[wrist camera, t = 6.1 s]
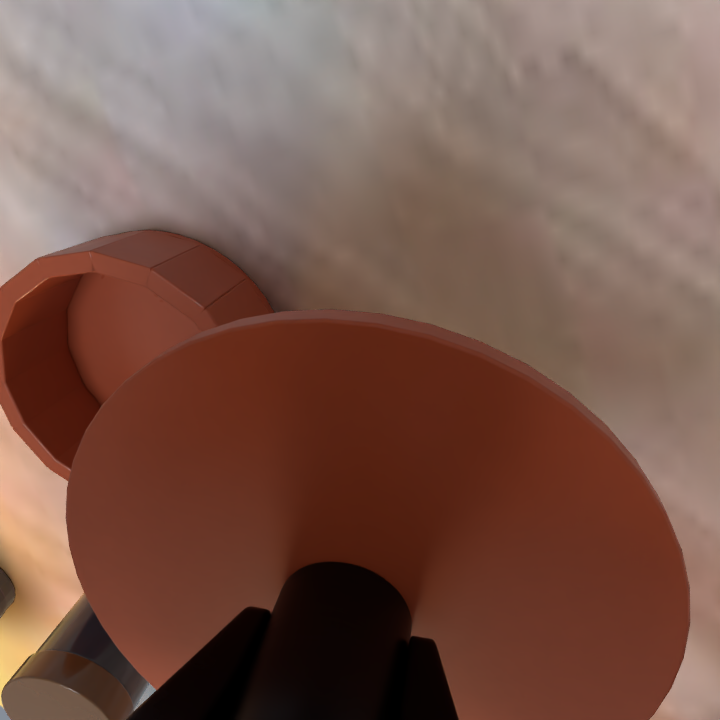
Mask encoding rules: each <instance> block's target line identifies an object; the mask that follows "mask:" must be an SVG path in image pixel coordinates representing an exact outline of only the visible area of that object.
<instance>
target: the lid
mask: <svg viewBox="0 0 720 720" xmlns="http://www.w3.org/2000/svg"><path fill="white" fill-rule="evenodd" d="M66 523H67V532H68V540H69V547H70V551H71V554H72V558H73V562H74V566H75V569H76V573H77V576H78V578H79V580H80V583H81V585H82V588H83V590H84V593H85V595H86V597H87V600H88V602H89V603H90V605H91V607H92V609H93V611H94V612H95V614H96V616H97V618H98V620H99V621H100V623H101V625H102V627H103V628H104V629H105V631H106V632H107V634H108V635H109V636H110V638H111V639H112V641H113V642H114V644H115V645H116V646H117V648H118V649H119V650H120V652H121V653H122V654H123V655H124V656H125V657H126V659H127V660H128V661H129V662H130V663H131V664H132V666H133V667H134V668H135V669H136V670H137V671H138V672H139V673H140V674H141V675H142V676H143V677H144V678H145V679H146V680H147V681H148V682H149V683H150V684H151V685H152V686H153V687H154V688H155V689H156V690H157V689H159V688H160V687H161V686H162V685H163V684H164V683H165V682H166V681H167V680H168V679H169V678H170V677H171V676H173V675H174V674H175V673H176V672H177V671H178V670H179V669H180V668H181V667H182V666H183V665H184V664H185V663H186V662H188V661H189V660H190V659H191V658H192V657H193V656H194V655H195V654H196V653H197V652H198V651H199V650H200V649H202V648H203V647H204V646H205V645H206V644H207V643H208V642H209V641H210V640H211V639H212V638H213V637H214V636H216V635H217V634H218V633H219V632H220V631H221V630H222V629H223V628H224V627H225V626H226V625H227V624H228V623H229V622H231V621H232V620H233V619H234V618H235V617H236V616H237V615H238V614H239V613H240V612H241V611H242V610H244V609H245V608H246V607H249V606H253V607H258V608H264V609H268V610H269V611H270V613H271V615H270V618H269V620H268V623H267V625H266V627H265V630H264V632H263V634H262V637H261V639H260V642H259V644H258V646H257V649H256V651H255V654H254V656H253V658H252V661H251V663H250V666H249V668H248V670H247V673H246V675H245V678H244V680H243V682H242V685H241V687H240V690H239V692H238V694H237V697H236V699H235V702H234V704H233V706H232V709H231V711H230V714H229V716H228V718H227V720H399V714H400V704H401V695H402V688H403V681H404V674H405V667H406V660H407V652H408V645H409V640H410V638H411V637H412V636H419V637H424V638H430V639H433V640H434V641H435V643H436V645H437V648H438V652H439V655H440V658H441V662H442V665H443V668H444V672H445V675H446V678H447V682H448V685H449V688H450V692H451V695H452V698H453V702H454V705H455V708H456V712H457V715H458V718H459V720H649V719H650V718H651V717H652V716H653V715H654V713H655V712H656V710H657V709H658V707H659V706H660V704H661V703H662V701H663V700H664V698H665V697H666V695H667V694H668V692H669V690H670V689H671V687H672V685H673V682H674V680H675V678H676V675H677V673H678V670H679V668H680V665H681V663H682V660H683V658H684V653H685V648H686V642H687V637H688V632H689V627H690V587H689V582H688V577H687V572H686V567H685V563H684V558H683V553H682V549H681V547H680V544H679V542H678V540H677V537H676V535H675V532H674V530H673V527H672V525H671V522H670V520H669V518H668V515H667V513H666V511H665V509H664V506H663V504H662V502H661V500H660V498H659V496H658V495H657V493H656V491H655V490H654V488H653V486H652V485H651V483H650V482H649V480H648V478H647V477H646V475H645V474H644V472H643V470H642V469H641V467H640V466H639V464H638V462H637V461H636V459H635V458H634V457H633V456H632V454H631V453H630V452H629V451H628V450H627V449H626V447H625V446H624V445H623V444H622V443H621V442H620V440H619V439H618V438H617V437H616V436H615V435H614V433H613V432H612V431H611V430H610V429H609V428H608V426H607V425H606V424H605V423H604V422H602V421H601V420H600V419H599V418H598V417H597V416H596V415H594V414H593V413H592V412H591V411H590V410H589V409H588V408H586V407H585V406H584V405H583V404H582V403H581V402H580V401H578V400H577V399H576V398H575V397H574V396H573V395H572V394H570V393H569V392H568V391H566V390H565V389H563V388H562V387H560V386H559V385H557V384H556V383H554V382H553V381H551V380H550V379H548V378H547V377H545V376H544V375H542V374H541V373H539V372H538V371H536V370H535V369H533V368H532V367H530V366H529V365H527V364H525V363H523V362H521V361H519V360H517V359H515V358H513V357H511V356H509V355H507V354H505V353H503V352H501V351H499V350H497V349H495V348H493V347H491V346H489V345H487V344H485V343H483V342H481V341H478V340H475V339H472V338H469V337H466V336H463V335H460V334H458V333H455V332H452V331H449V330H446V329H443V328H440V327H437V326H435V325H432V324H427V323H423V322H418V321H413V320H409V319H404V318H399V317H395V316H390V315H386V314H380V313H369V312H358V311H346V310H335V309H325V310H300V311H283V312H277V313H271V314H266V315H260V316H254V317H249V318H243V319H239V320H236V321H233V322H230V323H227V324H224V325H221V326H218V327H215V328H212V329H209V330H206V331H203V332H200V333H198V334H196V335H194V336H193V337H191V338H189V339H187V340H185V341H183V342H181V343H179V344H177V345H175V346H173V347H171V348H169V349H167V350H166V351H164V352H163V353H162V354H160V355H159V356H158V357H156V358H155V359H154V360H152V361H151V362H150V363H148V364H147V365H145V366H144V367H143V368H141V369H140V370H139V371H137V372H136V373H135V374H133V375H132V376H131V377H129V378H128V379H127V380H125V381H124V382H123V383H122V384H121V386H120V387H119V388H118V389H117V390H116V391H115V392H114V393H113V394H112V395H111V396H110V397H109V398H108V399H107V400H106V401H105V402H104V403H103V405H102V406H101V408H100V409H99V411H98V412H97V414H96V415H95V417H94V418H93V420H92V421H91V423H90V425H89V426H88V428H87V429H86V431H85V433H84V435H83V438H82V440H81V443H80V445H79V447H78V450H77V452H76V455H75V457H74V460H73V463H72V468H71V473H70V477H69V482H68V487H67V501H66Z"/></svg>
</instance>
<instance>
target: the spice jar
mask: <svg viewBox="0 0 720 720" xmlns="http://www.w3.org/2000/svg"><path fill="white" fill-rule="evenodd" d="M148 685H149V682H148V681H147V680H146V679H145V678H144V677H143V676H142V675H141V674H140V673H139V672H138V671H137V670H136V669H135V668H134V667H133V666H132V664H131V663H130V662H129V661H128V660H127V659H126V657H125V656H124V655H123V654H122V653H121V652H120V650H119V649H118V648H117V646H116V645H115V644H114V642H113V641H112V639H111V638H110V636H109V635H108V634H107V632H106V631H105V629H104V628H103V627H102V625H101V623H100V621H99V620H98V618H97V616H96V614H95V612H94V611H93V609H92V607H91V605H90V603H89V602H88V600H87V597H86V595H85V593H83V595H82V596H81V597H80V598H79V600H78V601H77V602H76V603H75V605H74V606H73V607H72V608H71V609H70V611H69V612H68V613H67V614H66V616H65V617H64V618H63V619H62V621H61V622H60V623H59V624H58V626H57V627H56V628H55V629H54V630H53V632H52V633H51V634H50V635H49V637H48V638H47V639H46V640H45V642H44V643H43V644H42V645H41V647H40V648H39V649H38V650H37V651H36V653H34V654H32V655H31V656H29V657H28V658H27V659H26V660H25V662H24V663H23V664H22V665H21V667H20V668H19V669H18V670H17V671H16V673H15V674H14V675H13V676H12V678H11V679H10V680H9V681H8V682H7V684H6V685H5V686H4V688H3V691H2V695H1V696H2V704H3V707H4V709H5V711H6V713H7V715H8V716H9V717H10V719H11V720H125V719H126V718H127V717H128V716H130V715H131V714H132V713H133V712H134V710H135V708H136V706H137V704H138V703H139V701H140V699H141V697H142V696H143V694H144V692H145V690H146V688H147V687H148Z"/></svg>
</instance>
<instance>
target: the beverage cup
mask: <svg viewBox="0 0 720 720" xmlns="http://www.w3.org/2000/svg"><path fill="white" fill-rule="evenodd" d="M14 598H15V590H14V586H13V584H12V582H11V580H10V579H9V577H8V576H7V575H6V574H5V573H4V572H3V570H2V569H0V618H1V617H2V615H3V614H4V613H5V610H6V609H7V608H8V607H9V606H10V605H11V604H12V603H13V601H14Z"/></svg>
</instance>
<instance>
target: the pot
mask: <svg viewBox="0 0 720 720" xmlns="http://www.w3.org/2000/svg"><path fill="white" fill-rule="evenodd" d="M271 313H274V311H273V309H272V308H271V306H270V304H269V303H268V301H267V299H266V298H265V296H264V295H263V294H262V292H261V291H260V290H259V289H258V287H257V286H256V285H255V283H254V282H253V281H252V280H251V279H250V278H249V277H248V276H247V275H246V274H245V273H244V272H243V271H242V270H241V269H240V268H239V267H237V266H236V265H235V264H234V263H233V262H231V261H230V260H229V259H228V258H226V257H225V256H223V255H221V254H220V253H218V252H217V251H215V250H214V249H212V248H210V247H208V246H206V245H204V244H202V243H200V242H198V241H196V240H193V239H190V238H187V237H184V236H182V235H178V234H173V233H169V232H164V231H152V230H142V231H130V232H126V233H121V234H117V235H111V236H104V237H100V238H97V239H94V240H91V241H88V242H85V243H82V244H79V245H76V246H73V247H70V248H67V249H63V250H60V251H57V252H54V253H51V254H48V255H45V256H42V257H39V258H37V259H35V260H34V261H33V262H31V263H30V264H29V265H28V266H26V267H25V268H24V269H23V270H21V271H20V272H19V273H17V274H16V275H15V276H14V277H12V278H11V279H10V280H9V281H7V282H6V283H5V284H4V285H2V286H1V288H0V404H1V406H2V408H3V410H4V412H5V414H6V416H7V418H8V420H9V422H10V425H11V426H12V427H13V430H14V431H15V432H16V433H17V434H18V435H19V436H20V437H21V439H22V440H23V441H24V442H25V443H26V444H27V445H28V446H29V447H30V449H31V450H32V451H33V452H34V453H35V454H36V455H37V456H38V458H39V459H40V460H41V461H42V462H43V463H44V464H45V465H46V466H47V467H49V469H50V470H52V471H53V472H55V473H56V474H58V475H59V476H61V477H62V478H64V479H66V480H67V481H69V477H70V473H71V468H72V463H73V460H74V457H75V455H76V452H77V450H78V447H79V445H80V443H81V440H82V438H83V435H84V433H85V431H86V429H87V428H88V426H89V425H90V423H91V421H92V420H93V418H94V417H95V415H96V414H97V412H98V411H99V409H100V408H101V406H102V405H103V403H104V402H105V401H106V400H107V399H108V398H109V397H110V396H111V395H112V394H113V393H114V392H115V391H116V390H117V389H118V388H119V387H120V386H121V384H122V383H123V382H124V381H125V380H127V379H128V378H129V377H131V376H132V375H133V374H135V373H136V372H137V371H139V370H140V369H141V368H143V367H144V366H145V365H147V364H148V363H150V362H151V361H152V360H154V359H155V358H156V357H158V356H159V355H160V354H162V353H163V352H164V351H166V350H167V349H169V348H171V347H173V346H175V345H177V344H179V343H181V342H183V341H185V340H187V339H189V338H191V337H193V336H194V335H196V334H198V333H200V332H203V331H206V330H209V329H212V328H215V327H218V326H221V325H224V324H227V323H230V322H233V321H236V320H239V319H243V318H249V317H254V316H260V315H266V314H271Z"/></svg>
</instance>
